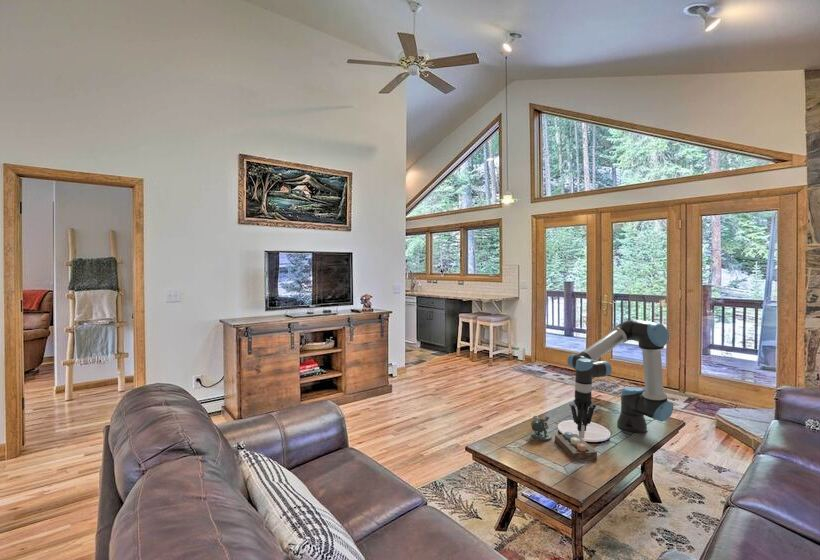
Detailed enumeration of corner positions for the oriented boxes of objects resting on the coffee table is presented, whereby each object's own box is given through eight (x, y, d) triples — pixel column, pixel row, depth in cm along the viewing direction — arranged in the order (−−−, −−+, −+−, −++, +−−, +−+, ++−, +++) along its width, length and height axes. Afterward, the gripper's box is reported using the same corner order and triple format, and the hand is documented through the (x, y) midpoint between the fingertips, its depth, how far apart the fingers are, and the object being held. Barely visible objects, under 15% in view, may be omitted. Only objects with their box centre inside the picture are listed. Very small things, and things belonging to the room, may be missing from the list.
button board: (576, 440, 217) (576, 433, 217) (596, 459, 197) (597, 452, 197) (554, 441, 216) (555, 434, 216) (573, 460, 196) (573, 453, 196)
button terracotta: (583, 448, 202) (583, 443, 202) (588, 453, 198) (588, 447, 198) (575, 449, 202) (575, 443, 202) (579, 453, 198) (579, 447, 197)
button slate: (570, 437, 215) (570, 431, 215) (574, 440, 211) (575, 435, 211) (562, 437, 215) (563, 431, 215) (566, 441, 211) (567, 435, 210)
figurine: (552, 441, 215) (553, 420, 214) (532, 440, 217) (532, 418, 217) (550, 433, 226) (550, 412, 225) (530, 431, 228) (530, 411, 227)
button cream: (576, 442, 209) (577, 437, 209) (581, 446, 204) (581, 441, 204) (568, 443, 208) (569, 437, 208) (573, 447, 204) (573, 441, 204)
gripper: (591, 387, 202) (589, 433, 204) (566, 388, 201) (565, 434, 202) (600, 392, 195) (598, 440, 196) (574, 393, 194) (572, 441, 195)
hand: (581, 437), depth 199 cm, fingers closed
